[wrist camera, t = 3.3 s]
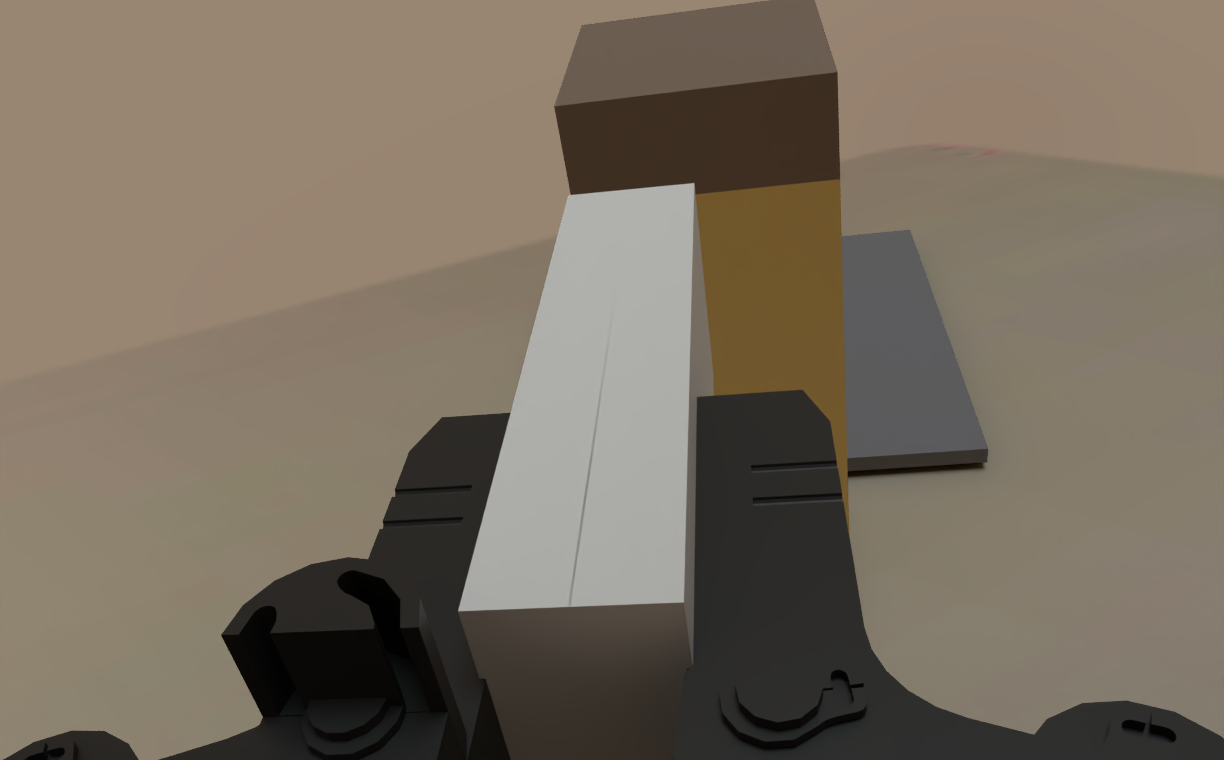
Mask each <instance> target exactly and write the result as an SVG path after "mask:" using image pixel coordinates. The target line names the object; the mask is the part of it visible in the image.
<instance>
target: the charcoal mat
mask: <svg viewBox="0 0 1224 760" xmlns="http://www.w3.org/2000/svg"><path fill="white" fill-rule="evenodd" d="M842 273H843V312H844V351H845V390H846V429H847V468H848V471H859V470H875V469H890V468H905V467H921V466H936V465H951V464H966V463H982V462H987V456H988V447H987V444H986V442H985V439H984V436H983V433H982V430H981V428H980V425H979V422H978V419H977V416H976V414H975V411H974V408H973V405H972V402H971V400H970V397H969V394H968V391H967V388H966V386H965V383H964V380H963V377H962V374H961V372H960V369H959V366H958V363H957V360H956V358H955V355H954V352H953V349H952V346H951V344H950V341H949V338H948V335H947V332H946V330H945V327H944V324H943V321H942V319H941V316H940V313H939V310H938V307H937V305H936V302H935V299H934V296H933V293H932V291H931V288H930V285H929V282H928V279H927V277H926V274H925V271H924V268H923V265H922V263H921V260H920V257H919V254H918V251H917V249H916V246H915V243H914V240H913V237H912V235H911V232H910V230H903V231H893V232H882V233H872V234H862V235H852V236H842Z"/></svg>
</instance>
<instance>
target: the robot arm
mask: <svg viewBox="0 0 1224 760" xmlns="http://www.w3.org/2000/svg"><path fill="white" fill-rule="evenodd" d="M221 636H222V638H223V640H224V642H225V644H226V646H227V648H228V650H229V651H230V653H231V655H232V657H233V659H234V661H235V663H236V665H237V667H238V669H239V671H240V673H241V675H242V677H243V679H244V681H245V683H246V685H247V687H248V689H249V691H250V692H251V694H252V696H253V698H254V700H255V702H256V704H257V706H258V708H259V710H260V712H261V714H262V716H263V718H262V721H261V723H260V725H259V726H257V727H255V728H253V729H250V730H248V731H245V732H243V733H240V734H238V735H235V736H233V737H230V738H228V739H225V740H221V741H218V742H215V743H212V744H209V745H205V746H202V747H199V748H196V749H192V750H189V751H186V752H183V753H179V754H176V755H173V756H170V757H166V758H163V759H160V760H1224V739H1223V738H1222V737H1221V736H1219V735H1218V734H1216V733H1214V732H1212V731H1210V730H1208V729H1206V728H1204V727H1202V726H1201V725H1199V724H1197V723H1195V722H1193V721H1191V720H1189V719H1187V718H1185V717H1183V716H1182V715H1180V714H1178V713H1176V712H1173V711H1169V710H1164V709H1160V708H1156V707H1151V706H1147V705H1143V704H1139V703H1134V702H1130V701H1113V702H1095V703H1082V704H1080V705H1077V706H1075V707H1073V708H1071V709H1068V710H1066V711H1064V712H1062V713H1059V714H1057V715H1055V716H1053V717H1051V718H1048V719H1047V720H1046V721H1045V722H1044V723H1043V725H1042V726H1041V727H1040V728H1039V730H1038V731H1037V732H1036V733H1035V735H1033V734H1029V733H1025V732H1021V731H1017V730H1013V729H1009V728H1005V727H1001V726H997V725H993V724H989V723H985V722H981V721H977V720H973V719H969V718H966V717H963V716H961V715H958V714H955V713H952V712H949V711H946V710H944V709H941V708H938V707H935V706H934V705H932V704H930V703H928V702H927V701H925V700H923V699H922V698H920V697H918V696H916V695H915V694H913V693H911V692H910V691H908V690H907V689H906V688H905V687H904V686H902V685H901V684H900V683H899V682H898V681H897V680H896V679H895V678H894V677H893V676H891V675H890V674H889V673H888V672H887V671H886V670H885V668H884V667H883V665H882V664H881V662H880V661H879V659H878V658H877V656H876V655H875V654H874V652H873V651H872V649H871V646H870V643H869V640H868V637H867V634H866V631H865V628H864V623H863V617H862V611H861V605H860V599H859V593H858V586H857V580H856V574H855V568H854V562H853V556H852V550H851V544H850V538H849V532H848V526H847V520H846V514H845V508H844V501H843V499H842V489H841V483H840V477H839V471H838V468H837V459H836V453H835V447H834V441H833V435H832V429H831V423H830V420H829V419H828V418H827V417H826V416H825V415H824V414H823V412H822V411H821V410H820V409H819V408H818V407H817V406H816V405H815V403H814V402H813V401H812V400H811V399H810V398H809V397H808V395H807V394H806V393H805V392H804V391H803V390H790V391H775V392H760V393H746V394H731V395H716V396H714V379H713V366H712V356H711V346H710V336H709V326H708V315H707V305H706V295H705V285H704V275H703V265H702V255H701V245H700V235H699V225H698V215H697V205H696V195H695V185H694V183H690V184H680V185H669V186H659V187H649V188H639V189H628V190H618V191H608V192H597V193H587V194H577V195H568V199H567V203H566V206H565V210H564V214H563V218H562V222H561V225H560V229H559V233H558V236H557V240H556V244H555V248H554V252H553V255H552V259H551V263H550V267H549V270H548V274H547V278H546V282H545V285H544V289H543V293H542V297H541V301H540V304H539V308H538V312H537V316H536V319H535V323H534V327H533V331H532V334H531V338H530V342H529V346H528V350H527V353H526V357H525V361H524V365H523V368H522V372H521V376H520V380H519V383H518V387H517V391H516V395H515V399H514V402H513V406H512V410H511V413H502V414H487V415H472V416H457V417H442V418H441V419H440V420H439V421H438V422H437V423H436V424H435V425H434V426H433V427H432V429H431V430H430V431H429V432H428V433H427V434H426V435H425V436H424V437H423V438H422V439H421V440H420V441H419V442H418V443H417V444H416V445H415V446H414V447H413V448H412V449H411V450H410V451H409V454H408V457H407V459H406V462H405V464H404V467H403V470H402V472H401V475H400V478H399V480H398V483H397V485H396V488H395V497H392V498H391V501H390V504H389V506H388V509H387V512H386V514H385V517H384V519H383V529H380V530H379V532H378V535H377V538H376V540H375V543H374V546H373V548H372V551H371V553H370V556H369V559H359V558H350V557H347V558H342V559H337V560H331V561H326V562H321V563H315V564H311V565H308V566H306V567H304V568H302V569H300V570H297V571H295V572H293V573H291V574H289V575H286V576H284V577H282V578H280V579H278V580H275V581H274V582H272V583H271V584H270V585H269V586H267V587H266V588H265V589H263V590H262V591H261V592H260V593H258V594H257V595H256V596H254V597H253V598H252V599H251V600H249V601H248V602H247V603H245V604H244V605H243V606H242V607H241V609H240V610H239V611H238V613H237V614H236V616H235V617H234V618H233V620H232V621H231V622H230V624H229V625H228V626H227V628H226V629H225V631H224V632H223V633H222V635H221ZM4 760H138V758H137V756H136V755H135V753H134V752H133V750H132V749H131V747H130V746H129V744H128V743H126V742H124V741H122V740H120V739H118V738H117V737H115V736H113V735H111V734H109V733H107V732H105V731H69V732H66V733H63V734H59V735H56V736H53V737H50V738H46V739H43V740H40V741H36V742H33V743H32V744H30V745H28V746H26V747H25V748H23V749H21V750H20V751H18V752H16V753H14V754H13V755H11V756H9V757H7V758H6V759H4Z"/></svg>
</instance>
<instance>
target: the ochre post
mask: <svg viewBox="0 0 1224 760" xmlns="http://www.w3.org/2000/svg"><path fill="white" fill-rule="evenodd" d="M554 107H555V113H556V118H557V123H558V129H559V133H560V139H561V144H562V150H563V155H564V161H565V166H566V171H567V177H568V182H569V187H570V193H571V195H577V194H587V193H597V192H608V191H618V190H628V189H639V188H649V187H659V186H669V185H680V184H690V183H694V185H695V195H696V205H697V215H698V225H699V235H700V245H701V255H702V265H703V275H704V285H705V295H706V305H707V315H708V326H709V336H710V346H711V356H712V366H713V379H714V396H716V395H731V394H746V393H760V392H775V391H790V390H803V391H804V392H805V393H806V394H807V395H808V397H809V398H810V399H811V400H812V401H813V402H814V403H815V405H816V406H817V407H818V408H819V409H820V410H821V411H822V412H823V414H824V415H825V416H826V417H827V418H828V419H829V420H830V423H831V429H832V435H833V441H834V447H835V453H836V459H837V468H838V471H839V477H840V483H841V489H842V499H843V501H844V508H845V514H846V520H847V526H848V532H849V507H848V468H847V429H846V390H845V351H844V312H843V273H842V234H841V195H840V157H839V118H838V79H837V70H836V66H835V63H834V60H833V57H832V54H831V51H830V47H829V44H828V41H827V38H826V35H825V32H824V29H823V25H822V22H821V19H820V16H819V13H818V10H817V7H816V4H815V1H814V0H770V1H762V2H754V3H747V4H739V5H731V6H724V7H716V8H709V9H701V10H694V11H686V12H679V13H671V14H664V15H657V16H649V17H641V18H633V19H626V20H619V21H611V22H604V23H596V24H588V25H582V26H581V29H580V32H579V35H578V38H577V41H576V44H575V47H574V50H573V53H572V56H571V59H570V62H569V65H568V68H567V70H566V73H565V76H564V79H563V82H562V85H561V88H560V91H559V94H558V97H557V100H556V103H555V106H554Z"/></svg>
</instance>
